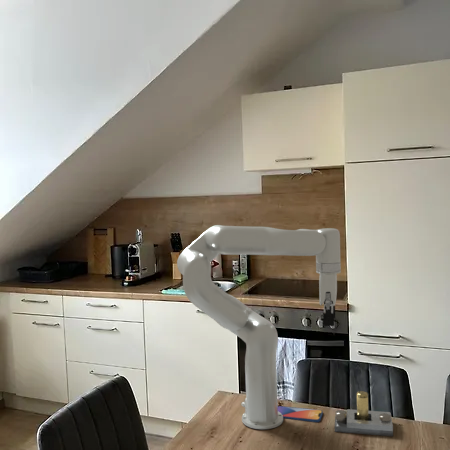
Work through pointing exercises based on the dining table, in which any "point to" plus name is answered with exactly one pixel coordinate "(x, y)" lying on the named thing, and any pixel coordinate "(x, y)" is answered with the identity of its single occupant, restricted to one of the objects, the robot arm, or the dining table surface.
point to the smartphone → (300, 413)
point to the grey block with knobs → (364, 423)
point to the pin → (362, 406)
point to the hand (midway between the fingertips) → (329, 321)
